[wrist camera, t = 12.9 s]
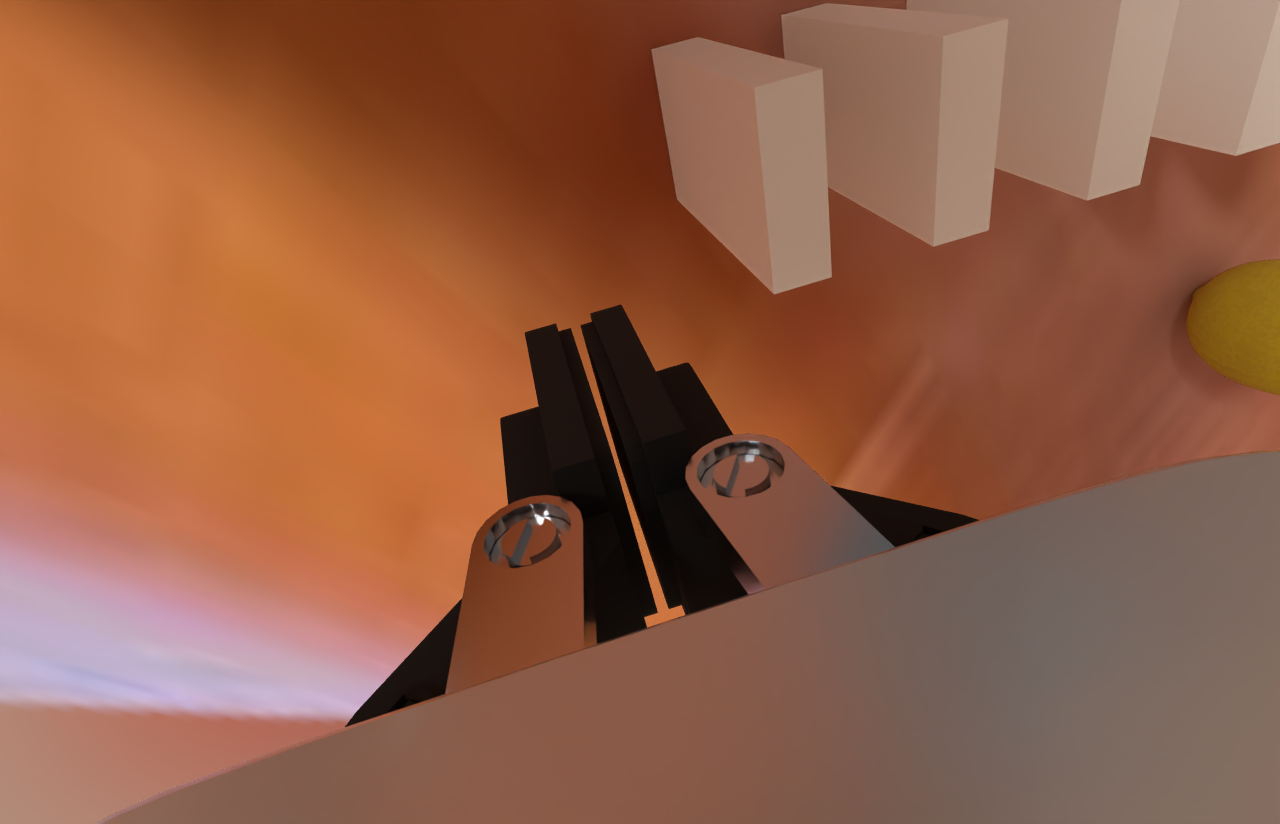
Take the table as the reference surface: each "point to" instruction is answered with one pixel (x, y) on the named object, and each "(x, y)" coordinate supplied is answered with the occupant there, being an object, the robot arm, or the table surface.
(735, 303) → the table surface
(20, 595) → the table surface
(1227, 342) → the lemon
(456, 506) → the table surface
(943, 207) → the tile
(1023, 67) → the tile
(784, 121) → the tile
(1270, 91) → the tile
